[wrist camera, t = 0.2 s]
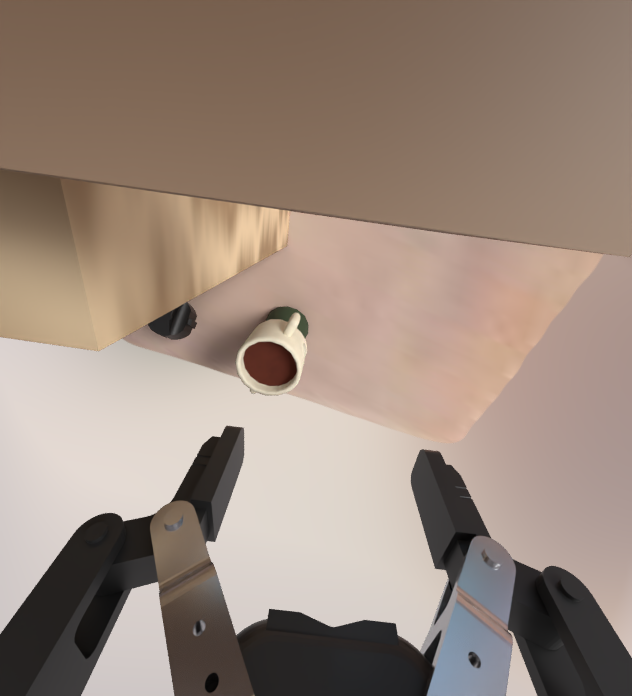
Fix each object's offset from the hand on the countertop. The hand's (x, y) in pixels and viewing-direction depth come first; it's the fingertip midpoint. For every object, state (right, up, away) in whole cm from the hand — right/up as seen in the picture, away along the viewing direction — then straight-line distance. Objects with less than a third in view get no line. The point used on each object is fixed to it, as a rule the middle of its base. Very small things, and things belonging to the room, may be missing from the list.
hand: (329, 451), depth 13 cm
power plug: (-19, +13, +27) cm, 36 cm away
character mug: (-5, +8, +29) cm, 30 cm away
